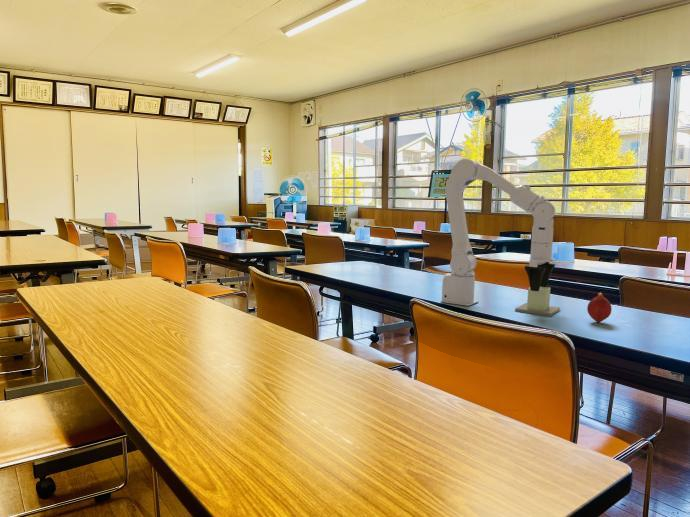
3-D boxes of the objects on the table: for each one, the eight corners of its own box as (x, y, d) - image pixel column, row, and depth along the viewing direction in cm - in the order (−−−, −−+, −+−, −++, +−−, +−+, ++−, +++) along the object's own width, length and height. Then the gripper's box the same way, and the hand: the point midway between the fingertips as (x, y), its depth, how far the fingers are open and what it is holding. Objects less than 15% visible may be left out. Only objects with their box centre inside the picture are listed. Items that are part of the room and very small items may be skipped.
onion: (613, 325, 133) (615, 295, 132) (589, 324, 134) (591, 294, 133) (606, 320, 138) (609, 291, 137) (584, 319, 139) (586, 290, 138)
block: (527, 308, 149) (528, 288, 148) (531, 305, 153) (532, 285, 152) (544, 310, 146) (546, 290, 145) (549, 307, 150) (550, 287, 149)
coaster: (515, 311, 148) (515, 308, 148) (525, 305, 156) (525, 302, 156) (550, 316, 142) (550, 313, 142) (559, 310, 150) (560, 307, 150)
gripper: (549, 245, 139) (545, 294, 140) (562, 242, 150) (559, 287, 152) (523, 243, 143) (520, 291, 145) (538, 240, 154) (535, 284, 156)
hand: (538, 289), depth 149 cm, fingers open, 7 cm apart
